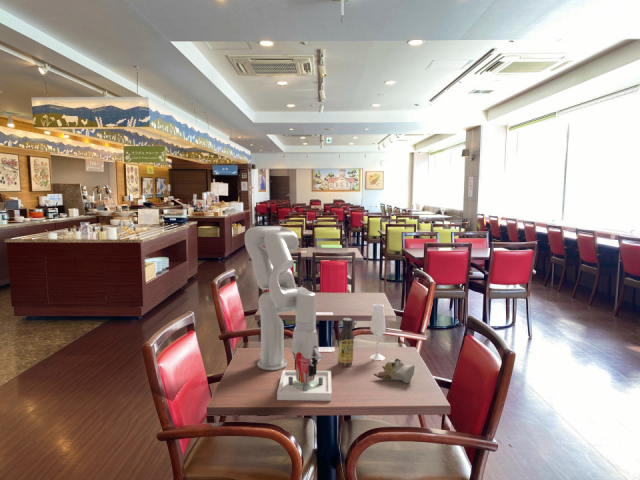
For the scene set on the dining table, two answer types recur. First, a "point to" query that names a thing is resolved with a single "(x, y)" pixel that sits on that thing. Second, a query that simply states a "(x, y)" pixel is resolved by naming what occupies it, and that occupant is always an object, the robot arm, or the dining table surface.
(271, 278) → the robot arm
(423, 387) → the dining table surface
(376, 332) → the champagne flute
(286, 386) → the pin tray
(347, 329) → the sauce bottle
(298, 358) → the soda can
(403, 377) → the ceramic sculpture
